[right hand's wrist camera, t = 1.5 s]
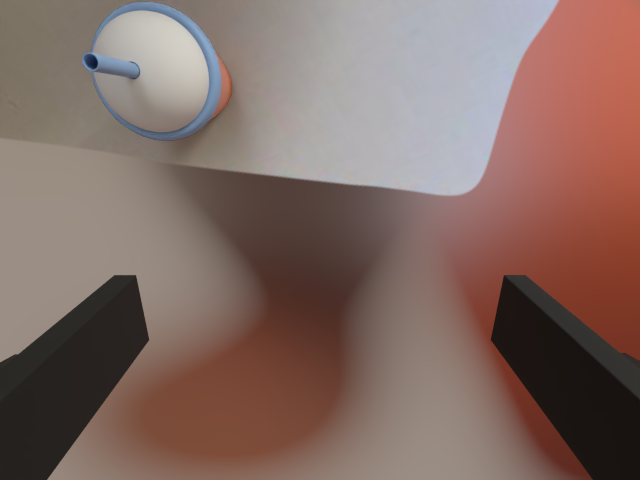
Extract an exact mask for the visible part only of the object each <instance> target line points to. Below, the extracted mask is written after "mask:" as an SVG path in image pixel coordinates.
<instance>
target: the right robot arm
mask: <svg viewBox="0 0 640 480" xmlns="http://www.w3.org/2000/svg"><path fill="white" fill-rule="evenodd" d="M148 341H149V337H148V332H147V327H146V322H145V317H144V312H143V307H142V303H141V298H140V293H139V288H138V283H137V278H136V275H115V276H113V277H112V278H111V279H109V280H108V281H107V282H106V283H105V284H103V285H102V286H101V287H100V288H98V289H97V290H96V291H95V292H94V293H92V294H91V295H90V296H89V297H88V298H86V299H85V300H84V301H83V302H81V303H80V304H79V305H78V306H77V307H75V308H74V309H73V310H72V311H71V312H69V313H68V314H67V315H66V316H64V317H63V318H62V319H61V320H60V321H58V322H57V323H56V324H55V325H53V326H52V327H51V328H50V329H49V330H47V331H46V332H45V333H44V334H43V335H41V336H40V337H39V338H38V339H36V340H35V341H34V342H33V343H32V344H30V345H29V346H28V347H27V348H26V349H24V350H23V351H22V352H21V353H19V354H18V355H13V356H11V357H9V358H8V359H6V360H4V361H2V362H0V480H47V479H48V477H49V476H50V475H51V473H52V472H53V471H54V469H55V468H56V467H57V465H58V464H59V462H60V461H61V460H62V458H63V457H64V456H65V454H66V453H67V451H68V450H69V449H70V448H71V446H72V445H73V443H74V442H75V441H76V439H77V438H78V437H79V435H80V434H81V432H82V431H83V430H84V428H85V427H86V426H87V424H88V423H89V422H90V420H91V419H92V417H93V416H94V415H95V413H96V412H97V411H98V409H99V408H100V406H101V405H102V404H103V402H104V401H105V400H106V398H107V397H108V396H109V394H110V393H111V391H112V390H113V389H114V387H115V386H116V385H117V383H118V382H119V381H120V379H121V378H122V376H123V375H124V374H125V372H126V371H127V370H128V368H129V367H130V365H131V364H132V363H133V361H134V360H135V359H136V357H137V356H138V355H139V353H140V352H141V350H142V349H143V348H144V346H145V345H146V344H147V342H148ZM491 341H492V342H493V344H494V345H495V346H496V348H497V349H498V350H499V352H500V353H501V354H502V356H503V357H504V358H505V360H506V361H507V363H508V364H509V365H510V367H511V368H512V370H513V371H514V372H515V374H516V375H517V376H518V378H519V379H520V380H521V382H522V383H523V385H524V386H525V387H526V389H527V390H528V391H529V393H530V394H531V396H532V397H533V398H534V400H535V401H536V402H537V404H538V405H539V406H540V408H541V409H542V411H543V412H544V413H545V415H546V416H547V417H548V419H549V420H550V421H551V423H552V424H553V426H554V427H555V428H556V430H557V431H558V432H559V434H560V435H561V437H562V438H563V439H564V441H565V442H566V443H567V445H568V446H569V447H570V449H571V450H572V452H573V453H574V454H575V456H576V457H577V458H578V460H579V461H580V462H581V464H582V465H583V467H584V468H585V469H586V471H587V472H588V473H589V475H590V476H591V478H592V479H593V480H640V361H639V360H637V359H635V358H633V357H631V356H630V355H628V354H626V353H619V352H618V351H617V350H616V349H614V348H613V347H612V346H611V345H610V344H608V343H607V342H606V341H605V340H604V339H602V338H601V337H600V336H599V335H597V334H596V333H595V332H594V331H593V330H591V329H590V328H589V327H588V326H586V325H585V324H584V323H583V322H582V321H580V320H579V319H578V318H577V317H576V316H574V315H573V314H572V313H571V312H569V311H568V310H567V309H566V308H565V307H563V306H562V305H561V304H560V303H559V302H557V301H556V300H555V299H554V298H552V297H551V296H550V295H549V294H548V293H546V292H545V291H544V290H543V289H542V288H540V287H539V286H538V285H537V284H535V283H534V282H533V281H532V280H531V279H529V278H528V277H527V276H526V275H504V278H503V283H502V288H501V293H500V298H499V302H498V307H497V313H496V317H495V322H494V327H493V332H492V337H491Z"/></svg>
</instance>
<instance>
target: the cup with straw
mask: <svg viewBox="0 0 640 480" xmlns="http://www.w3.org/2000/svg"><path fill="white" fill-rule="evenodd" d="M82 63H83V65H84V67H85V68H86V69H87V70H89V71H91V72H92V77H93V81H94V84H95V87H96V90H97V92H98V94H99V96H100V98H101V100H102V102H103V103H104V105H105V106H106V108H107V109H108V110H109V112H110V113H111V114H112V115H113V116H114V117H115V118H116V119H117V120H118V121H119V122H120V123H121V124H123V125H124V126H125V127H127V128H128V129H130V130H131V131H133V132H135V133H137V134H139V135H141V136H144V137H147V138H150V139H154V140H161V141H171V140H179V139H183V138H186V137H188V136H191V135H192V134H194V133H196V132H197V131H199V130H200V129H201V128H203V127H204V126H205V125H206V124H207V122H208V121H209V120H211V119H212V118H214V117H215V116H216V115H218V114H219V113H220V112H221V111H222V110H223V109H224V108H225V107H226V105H227V104H228V102H229V99H230V96H231V90H232V85H231V79H230V75H229V72H228V70H227V68H226V67H225V65H224V64H223V62H222V60H221V59H220V57H219V56H218V55H217V53H216V52H215V51H214V48H213V46H212V45H211V43H210V41H209V39H208V38H207V36H206V35H205V34H204V32H203V31H202V30H201V29H200V28H199V27H198V25H197V24H196V23H195V22H193V21H192V20H191V19H190V18H189V17H187V16H186V15H185V14H183V13H181V12H180V11H178V10H176V9H174V8H172V7H170V6H167V5H164V4H160V3H155V2H135V3H130V4H127V5H124V6H122V7H120V8H118V9H117V10H115V11H113V12H112V13H111V14H110V15H108V16H107V18H106V19H105V20H104V21H103V22H102V24H101V25H100V26H99V28H98V30H97V32H96V34H95V37H94V40H93V43H92V48H91V53H90V52H87V53H85V54H84V55H83V57H82Z"/></svg>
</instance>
